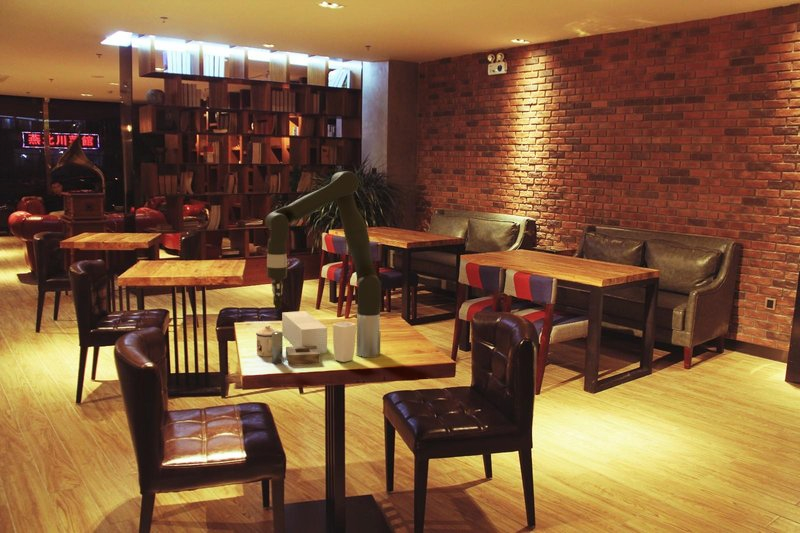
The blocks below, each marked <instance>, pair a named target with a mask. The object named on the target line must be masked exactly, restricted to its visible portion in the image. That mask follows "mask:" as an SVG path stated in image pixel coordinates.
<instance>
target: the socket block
mask: <svg viewBox="0 0 800 533" xmlns="http://www.w3.org/2000/svg"><path fill="white" fill-rule="evenodd" d="M285 358H286V361H288V362H287V364H288V366H300V365H302V366H305V365H306V364H307V365H320V364H321V363H320V362H321V353H319V351H318V349H317V347H316V346H294V347H293V346H285Z"/></svg>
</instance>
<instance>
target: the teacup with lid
mask: <svg viewBox="0 0 800 533" xmlns="http://www.w3.org/2000/svg"><path fill="white" fill-rule="evenodd" d="M277 331H278V330H277V329H274V328H273V327H271V325H267V324H266V325H264V328H261V329H259V330H257V331H256V333H255V334H256V354H257V355H258V356H260V357H272V332H277Z"/></svg>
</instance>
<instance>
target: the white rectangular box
mask: <svg viewBox="0 0 800 533" xmlns="http://www.w3.org/2000/svg"><path fill="white" fill-rule="evenodd" d="M281 314H282V319H281V320H282V321H281V322H282V323H281V324H282V327H281V332H282V333H283V336H284V337H283V338H284V339H285V338H286V339H287V340H288V341H289V342H290V343H289V342H288V341H287V340H286V339H285V340H286V341H287V342H288V343H289V344H290V345H291V344H292V345H291V347H294V346H316V347H317V349H318V351H319V353H320V354H325V353H328V327H327V326H326V325H324V324H323V323H322V322H320V320H318V319H316V318H315V317H314V316H312V315H311V314H310V313H309V312H308V311H306V310H302V311H301V310H300V311H288V312H287V311H286V312H282V313H281Z"/></svg>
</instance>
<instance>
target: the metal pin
mask: <svg viewBox="0 0 800 533" xmlns="http://www.w3.org/2000/svg"><path fill="white" fill-rule="evenodd" d="M283 338H284V337H283V333H282V331H279V330H277V332H272V356H271V364H273V365H281V363H282V362H283V360H284V359H283V349H284V348H283V343H284V342H283V340H284V339H283ZM282 364H283V363H282Z"/></svg>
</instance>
